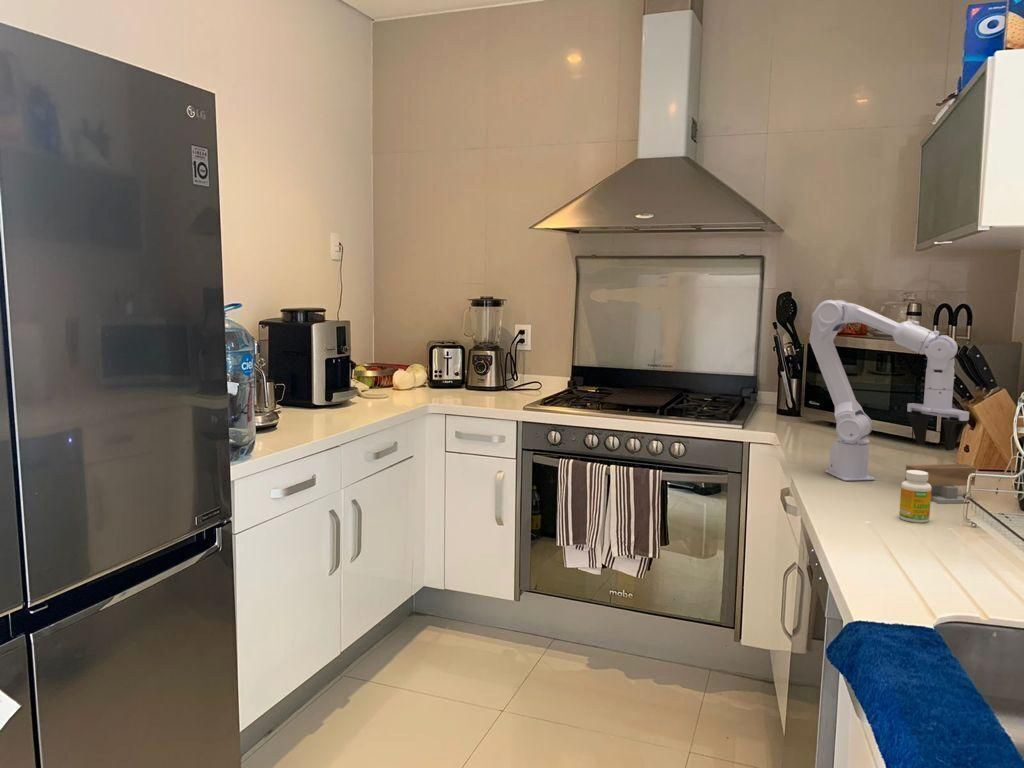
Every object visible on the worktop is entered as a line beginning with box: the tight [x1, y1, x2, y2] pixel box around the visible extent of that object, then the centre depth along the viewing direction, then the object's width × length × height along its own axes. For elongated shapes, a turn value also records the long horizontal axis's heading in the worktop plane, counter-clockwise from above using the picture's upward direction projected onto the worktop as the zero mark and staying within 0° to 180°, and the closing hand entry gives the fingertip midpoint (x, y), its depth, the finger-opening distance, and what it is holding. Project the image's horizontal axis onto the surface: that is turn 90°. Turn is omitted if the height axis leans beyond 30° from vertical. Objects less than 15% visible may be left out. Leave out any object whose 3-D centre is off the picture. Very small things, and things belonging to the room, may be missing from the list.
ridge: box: [931, 486, 965, 505], centre depth 172 cm, size 9×7×3 cm
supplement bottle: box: [898, 470, 932, 524], centre depth 155 cm, size 5×5×10 cm
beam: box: [904, 463, 977, 487], centre depth 172 cm, size 4×14×4 cm, turn 95°
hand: (934, 446), depth 179 cm, fingers open, 7 cm apart
